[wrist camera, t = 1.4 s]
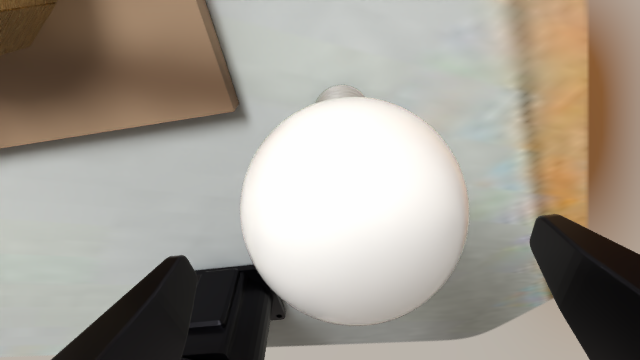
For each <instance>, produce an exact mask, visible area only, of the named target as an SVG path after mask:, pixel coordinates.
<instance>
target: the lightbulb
mask: <svg viewBox="0 0 640 360" xmlns="http://www.w3.org/2000/svg"><path fill="white" fill-rule="evenodd" d="M240 220H241V228H242V233H243V238H244V242H245V245H246V248H247V251H248V253H249V256H250V258H251V260H252V262H253V264H254V266H255V268H256V269H257V271H258V273H259V274H260V276H261V277H262V279H263V280H264V281H265V282H266V284H267V285H268V286H269V287H270V288H271V289H272V290H273V291H274V292H275V293H276V294H277V295H278V296H279V297H280V298H281V299H282V300H284V301H285V302H286V303H287V304H289V305H290V306H292V307H293V308H295V309H297V310H298V311H300V312H302V313H304V314H306V315H308V316H310V317H313V318H315V319H318V320H321V321H324V322H328V323H333V324H338V325H347V326H365V325H374V324H379V323H384V322H387V321H391V320H394V319H396V318H399V317H401V316H404V315H406V314H408V313H410V312H412V311H413V310H415V309H417V308H418V307H420V306H421V305H423V304H424V303H425V302H427V301H428V300H429V299H430V298H431V297H432V296H434V295H435V294H436V293H437V292H438V291H439V290H440V288H441V287H442V286H443V285H444V284H445V282H446V281H447V280H448V278H449V277H450V276H451V274H452V272H453V271H454V269H455V267H456V265H457V264H458V262H459V259H460V257H461V255H462V252H463V249H464V246H465V243H466V239H467V234H468V227H469V198H468V192H467V187H466V183H465V179H464V176H463V173H462V171H461V168H460V166H459V164H458V162H457V160H456V158H455V156H454V154H453V152H452V151H451V149H450V148H449V146H448V145H447V144H446V142H445V141H444V140H443V138H442V137H441V136H440V135H439V134H438V133H437V132H436V131H435V130H434V129H433V128H432V127H431V126H430V125H429V124H428V123H426V122H425V121H424V120H422V119H421V118H420V117H418V116H417V115H415V114H414V113H412V112H410V111H408V110H406V109H404V108H402V107H400V106H398V105H395V104H393V103H390V102H387V101H383V100H379V99H374V98H368V97H365V96H364V95H363V94H362V93H361V92H360V91H359V90H357V89H356V88H354V87H351V86H347V85H337V86H333V87H330V88H328V89H326V90H325V91H324V92H323V93H321V95H320V96H319V97H318V98H317V100H316V102H315V104H312V105H310V106H307V107H305V108H303V109H301V110H299V111H297V112H296V113H294V114H292V115H291V116H289V117H288V118H287V119H285V120H284V121H283V122H281V123H280V124H279V125H278V126H277V127H276V128H275V129H274V130H273V131H272V132H271V133H270V134H269V135H268V136H267V137H266V139H265V140H264V141H263V142H262V144H261V145H260V147H259V148H258V150H257V151H256V153H255V155H254V157H253V159H252V161H251V163H250V165H249V167H248V170H247V172H246V175H245V179H244V182H243V187H242V192H241V200H240Z"/></svg>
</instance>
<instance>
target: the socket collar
mask: <svg viewBox="0 0 640 360" xmlns="http://www.w3.org/2000/svg"><path fill="white" fill-rule="evenodd" d="M55 2H57V0H0V55H3V54H6V53H10V52H13V51H17V50H20V49H24V48H27V47H29V46H31V44H32V42H33V41H34V39H35V38H36V36H37V34H38V33H39V31H40V29H41V28H42V26H43V25H44V23H45V21H46V20H47V18H48V17H49V15H50V13H51V12H52V10H53V8H54V7H55V5H56V3H55Z"/></svg>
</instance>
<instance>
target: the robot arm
mask: <svg viewBox="0 0 640 360" xmlns="http://www.w3.org/2000/svg"><path fill="white" fill-rule="evenodd" d="M530 247H531V250H532V252H533V254H534V256H535V259H536V261H537V263H538V265H539V267H540V269H541V271H542V274H543V276H544V278H545V280H546V282H547V284H548V286H549V289H550V291H551V293H552V295H553V297H554V299H555V301H556V303H557V305H558V307H559V309H560V311H561V312H562V314H563V316H564V318H565V319H566V321H567V323H568V324H569V326H570V328H571V329H572V331H573V333H574V334H575V336H576V338H577V339H578V341H579V343H580V344H581V346H582V347H583V349H584V351H585V352H586V354H587V356H588V358H589V359H590V360H640V254H638V253H635V252H634V251H632V250H629V249H627V248H625V247H623V246H621V245H619V244H617V243H615V242H613V241H611V240H609V239H607V238H605V237H603V236H601V235H599V234H597V233H595V232H593V231H591V230H589V229H587V228H585V227H583V226H581V225H579V224H577V223H575V222H573V221H571V220H569V219H567V218H565V217H563V216H561V215H558V214H552V215H543V216H539V217H538V218H537V219H536V221H535V224H534V228H533V231H532V234H531V237H530ZM285 315H286V311H285V308H284V306H283V303H282V301H281V298H280V297H279V296H278V295H277V294H276V293H275V292H274V291H273V290H272V289H271V288H270V287H269V286H268V285H267V284H266V282H265V281H264V280H263V279H262V277H261V276H260V274H259V273H258V271H257V269H256V268H255V266H254V265H247V266H237V267H227V268H218V269H208V270H198V271H194V269H193V267H192V266H191V264H190V262H189V261H188V259H187V258H186V257H185V256H184V255H179V256H170V257H168V258H166V259H165V260H164V261H163V262H162V263H161V264H159V265H158V266H157V267H156V268H155V269H154V270H153V271H151V272H150V273H149V274H148V275H147V276H146V277H145V278H144V279H142V280H141V281H140V282H139V283H138V284H137V285H136V286H134V287H133V288H132V289H131V290H130V291H129V292H128V293H126V294H125V295H124V296H123V297H122V298H121V299H120V300H118V301H117V302H116V303H115V304H114V305H113V306H112V307H111V308H109V309H108V310H107V311H106V312H105V313H104V314H103V315H101V316H100V317H99V318H98V319H97V320H96V321H95V322H93V323H92V324H91V325H90V326H89V327H88V328H87V329H85V330H84V331H83V332H82V333H81V334H80V335H79V336H77V337H76V338H75V339H74V340H73V341H72V342H71V343H70V344H68V345H67V346H66V347H65V348H64V349H63V350H62V351H60V352H59V353H58V354H57V355H56V356H55V357H54V358H52V360H264V357H265V351H266V345H267V338H268V332H269V325H270V320H281V319H284V318H285Z"/></svg>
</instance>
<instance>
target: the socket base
mask: <svg viewBox="0 0 640 360" xmlns="http://www.w3.org/2000/svg"><path fill="white" fill-rule="evenodd" d="M55 3H56V5H55V7H54V8H53V10H52V12H51V13H50V15H49V17H48V18H47V20H46V21H45V23H44V25H43V26H42V28H41V29H40V31H39V33H38V34H37V36H36V38H35V39H34V41H33V42H32V44H31V46H29V47H27V48H24V49H20V50H17V51H13V52H10V53H6V54H3V55H0V148H6V147H13V146H19V145H25V144H32V143H38V142H44V141H51V140H57V139H63V138H70V137H76V136H82V135H89V134H95V133H101V132H108V131H114V130H120V129H127V128H133V127H139V126H145V125H152V124H158V123H164V122H171V121H177V120H183V119H190V118H196V117H202V116H209V115H215V114H221V113H228V112H234V111H235V110H236V108H237V106H238V105H239V102H238V99H237V96H236V93H235V90H234V87H233V84H232V80H231V77H230V74H229V71H228V68H227V65H226V62H225V59H224V56H223V53H222V50H221V47H220V44H219V41H218V38H217V35H216V32H215V29H214V26H213V23H212V20H211V17H210V14H209V11H208V8H207V5H206V2H205V0H57V2H55Z"/></svg>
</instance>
